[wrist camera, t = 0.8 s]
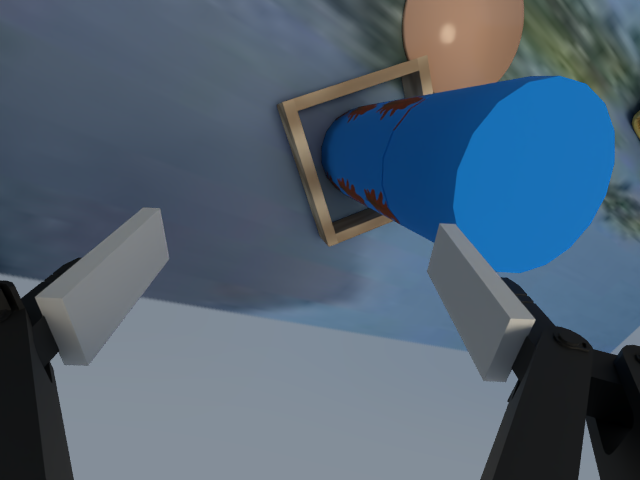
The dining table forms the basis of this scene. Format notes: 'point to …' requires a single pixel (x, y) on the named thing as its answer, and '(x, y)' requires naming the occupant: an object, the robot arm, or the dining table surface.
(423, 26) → the saucer
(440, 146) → the thermos
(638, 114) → the picnic basket
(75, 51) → the dining table surface
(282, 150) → the dining table surface
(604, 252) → the dining table surface
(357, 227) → the square frame
